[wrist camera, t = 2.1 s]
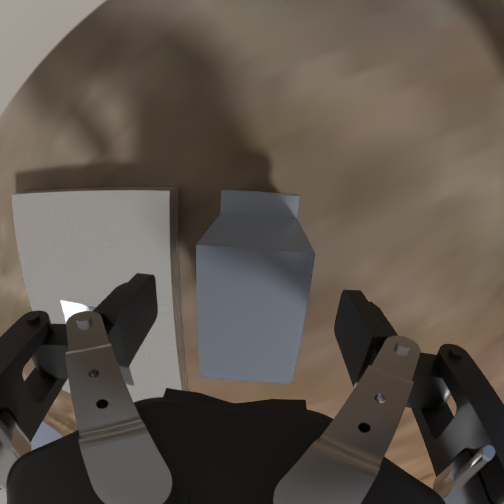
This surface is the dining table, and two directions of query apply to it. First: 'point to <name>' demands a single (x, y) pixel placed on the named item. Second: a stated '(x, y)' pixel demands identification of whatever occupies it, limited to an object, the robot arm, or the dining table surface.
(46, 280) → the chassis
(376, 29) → the dining table surface
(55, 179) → the dining table surface
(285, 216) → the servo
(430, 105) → the dining table surface
